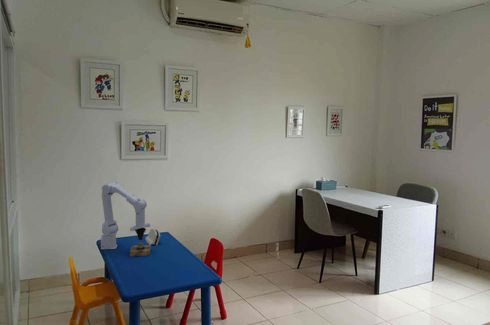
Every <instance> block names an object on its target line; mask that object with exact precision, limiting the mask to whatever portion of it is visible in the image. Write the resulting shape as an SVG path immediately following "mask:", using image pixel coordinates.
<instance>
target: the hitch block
mask: <svg viewBox="0 0 490 325" xmlns="http://www.w3.org/2000/svg"><path fill="white" fill-rule="evenodd" d="M151 246H152V245H149V244H145V245H144V244H143V249H140V250H138V245H131V247H130V250H129V257H140V256H142V257H143V256H145V257H146V256H148V257H149V256H150V254H151V250H152V247H151Z"/></svg>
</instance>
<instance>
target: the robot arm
mask: <svg viewBox="0 0 490 325" xmlns="http://www.w3.org/2000/svg"><path fill="white" fill-rule="evenodd" d="M115 193H117V194H119V195H120V196H122V197H123V198H125V199H126V200H125V202H128V203H129V204H130V205H132V206H133V209H134V213H135V225H134V226H132V227H130V228H129V231H130V232H134V231H135V233H136V235H137V237H138V238H137V239H138V240H139V241H142V240H143V237H144V234H145V232H146V230H147V229H146V228H149V227H151V223H146V214H145V213H146V208H147V201H146V200H145V199H141V198H138V197H137V196H136V195H135V194H134V193H129V192H128V191H127V190H125V189H124V188H123V187H122V186H121V184H119V183H118V182H117V181H114V182H110V183H105V184H103V185H102V186H101V200H102V207H103V214H104V216H103V217H104V222H103V223H102V228H101V233H102V234H101V236H100V250H116V249H117V247H118V244H117V232H118V231H119V226H118V224H117V221H116V220H115V219H114V212H113V204H112V196H113V195H114V194H115Z"/></svg>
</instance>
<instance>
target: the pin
mask: <svg viewBox="0 0 490 325" xmlns="http://www.w3.org/2000/svg"><path fill="white" fill-rule="evenodd" d="M143 245H144V241H142V240H139V241H137V246H138V250H140V249H143Z"/></svg>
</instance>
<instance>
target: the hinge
mask: <svg viewBox="0 0 490 325" xmlns="http://www.w3.org/2000/svg"><path fill="white" fill-rule="evenodd" d="M160 238H161V233H160V231H159V230H158V229H156V228H150V230H149V232H148V235H147V236H145V239H144V240H145V241H146V243H147V245H151V246H152V245H156V246H158V244H159V242H160Z"/></svg>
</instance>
